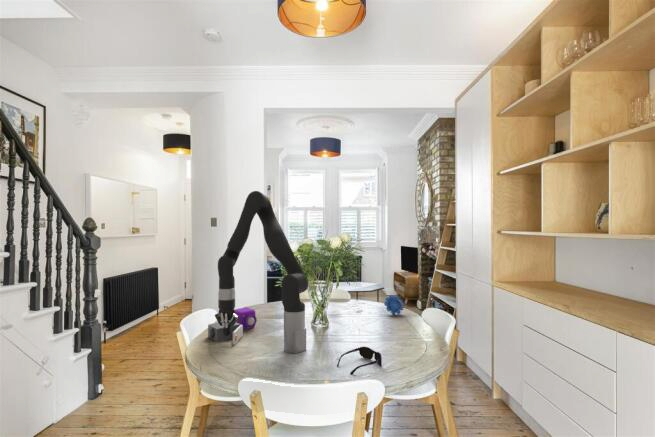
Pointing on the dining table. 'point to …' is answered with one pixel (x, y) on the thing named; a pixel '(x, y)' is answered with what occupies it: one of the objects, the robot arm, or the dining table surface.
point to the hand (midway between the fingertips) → (226, 335)
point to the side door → (237, 334)
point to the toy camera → (246, 317)
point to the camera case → (220, 332)
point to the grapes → (394, 304)
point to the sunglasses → (365, 356)
